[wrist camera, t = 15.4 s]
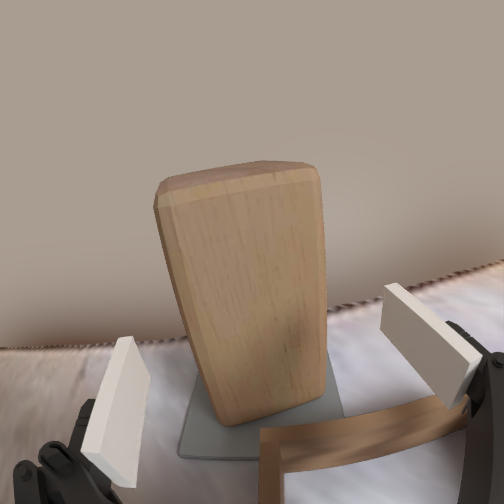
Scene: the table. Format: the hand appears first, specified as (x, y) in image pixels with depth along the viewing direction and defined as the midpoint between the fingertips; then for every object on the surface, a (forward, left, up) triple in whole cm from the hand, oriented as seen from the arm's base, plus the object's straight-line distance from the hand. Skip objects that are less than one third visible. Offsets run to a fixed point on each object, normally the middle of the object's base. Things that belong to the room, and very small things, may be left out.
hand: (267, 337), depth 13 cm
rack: (+8, -10, -13) cm, 19 cm away
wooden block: (-2, +9, -13) cm, 16 cm away
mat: (-2, +8, -13) cm, 15 cm away
